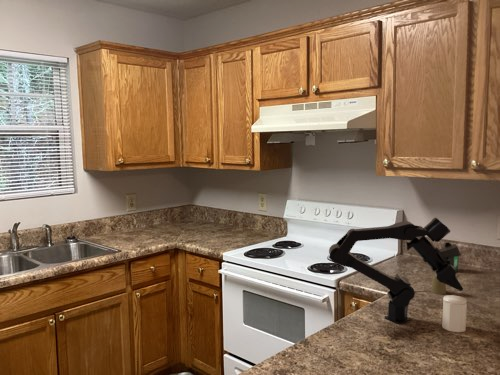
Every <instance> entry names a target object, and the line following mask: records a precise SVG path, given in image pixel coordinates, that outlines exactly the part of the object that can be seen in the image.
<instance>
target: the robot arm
mask: <svg viewBox="0 0 500 375" xmlns="http://www.w3.org/2000/svg"><path fill="white" fill-rule="evenodd" d="M450 233H451V230H450V228H449V227H448V226H446V224H444V223H443V222H442V221H441V220H440V219H438V218H437V217H433V218H432V219H431V221H430V222H428V223H427V224H426V225H425V226H421V225H416V224H414V223H412V222H411V221H409V220H403V221H399V222H395V223H393V224H391V225H387V226H376V227H375V226H374V227H365V228H364V227H362V228H350V229H349V230H348V231H347V232H346V233H345V234H344V235H343V236H342V237H341V238H339V240H338V241H337V242H336V243H334V244H332V245H331V246H330V247H329V249H328V255H329V257H330V260H331V261H332V263H334V264H337V265H340V266H341V267H346V268H350V269H352V270H355V271H356V272H358V273H360V274H362V275H363V276H365V277H367V278H370V279H371V280H372V281H375V282H377V283H378V284H380V285H382V286H383V287H384V288H385V287H386V288H387V289H388V290H389V291H387V296H388V298H389V302H388V311H387V313H388V314H387V315H385V316H384V319H386V320H389V321H391V322H393V323H395V324H403V323H407V322H409V321H411V317H408V309H409V308H408V307H409V304H410V302H411V301H412V300H413V299H414V297H415V294H416V292H415V289H414V287H413V286H412V284H411V283H410V281H409V280H408V278H405V277H402V276H401V275H399V274H398V273H396V274H395V276H393V275H392V276H391V275H389V274H387V273H385V272H383V271H382V270H380V269H379V268H377V267H374V266H373V265H371V264H369V263H367V262H366V261H365V260H362V259H361V258H358V257H356V255H354V254H353V253H352V252H351V250H352V249H353V248H354V246H355V245H356V243H357V242H361V241H373V240H385V239H386V240H387V239H395V240H400V241H401V240H402V241H405V249H406V251H409V250H410V249H413V250H414V251H415V252H416V254H418V256H420V258H422V261H423V262H424V263H426V264H427V265H428V266H429V267H430V268H431V270H432V272H433V271H436V272H435V276H436V278H437V279H438V280H439V282H440V283H444V284H446V286H449V287H452V288H453V289H455V290H457V291H460V292H463V290H464V288H463V286H462V284H461V283H460V281H459V279H458V277H457V276H456V274H457V272H456V270H455V269H454V267H453V266H452V265H451V264H450V260H449V259H450V258H453V257H456V256H457V257H458V256H459V257H460V256H461V255H462V254H461V252H460V250H459V247H458V245H457V244H455V243H451V242H450V241H446V242H444V245H443V247H441V248H440V249H439V248H438V247H437V246H435V245H434V244H432V243H439V242H440V241H441V240H442V239H444V238H445V237H446V236H447V235H448V234H450ZM430 241H431V242H430Z"/></svg>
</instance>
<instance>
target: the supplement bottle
mask: <svg viewBox="0 0 500 375" xmlns="http://www.w3.org/2000/svg"><path fill="white" fill-rule="evenodd" d="M449 260H450V264H451V265H452V266H453V267H454V269H455V270H456V273H458V272H459V268H460V256H458V257H457V256H456V257H453V258H450V259H449ZM457 271H458V272H457Z"/></svg>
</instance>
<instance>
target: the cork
mask: <svg viewBox="0 0 500 375" xmlns="http://www.w3.org/2000/svg"><path fill="white" fill-rule="evenodd" d="M432 272H433V277H432V282H431V287H430V292H431V293H433V294H436V295H447V285H446V284H444V283H440V282H439V280H438V279H437V278H436V276H435V272H436V271H433V270H432Z"/></svg>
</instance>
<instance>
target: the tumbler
mask: <svg viewBox="0 0 500 375" xmlns="http://www.w3.org/2000/svg"><path fill="white" fill-rule="evenodd" d="M442 300H443V301H442V302H443V303H442V324H441V325H442V326H441V327H442V328H443V329H444V330H446V331H448V332H453V333H462V332H466V329H467V328H466V324H467V299H466V298H465V297H463V296H459V295H453V294H451V295H447V294H446V295H444V296H443V299H442Z"/></svg>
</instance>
